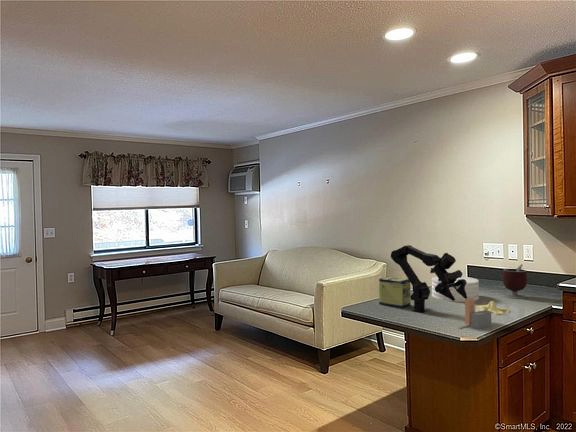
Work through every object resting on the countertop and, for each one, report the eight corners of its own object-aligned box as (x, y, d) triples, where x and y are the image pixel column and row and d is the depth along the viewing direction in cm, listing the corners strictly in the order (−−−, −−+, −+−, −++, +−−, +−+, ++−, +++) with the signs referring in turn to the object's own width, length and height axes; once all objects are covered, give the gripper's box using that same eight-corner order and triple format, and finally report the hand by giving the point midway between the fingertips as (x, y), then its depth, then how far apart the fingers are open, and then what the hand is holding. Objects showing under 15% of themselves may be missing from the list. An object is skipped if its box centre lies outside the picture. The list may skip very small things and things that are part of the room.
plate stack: (449, 291, 299) (449, 274, 299) (488, 298, 276) (488, 280, 275) (422, 296, 284) (422, 278, 283) (460, 304, 260) (460, 284, 260)
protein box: (402, 308, 251) (402, 281, 250) (378, 304, 261) (378, 278, 261) (411, 305, 258) (411, 278, 258) (387, 301, 269) (387, 276, 268)
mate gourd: (519, 300, 269) (519, 267, 268) (498, 296, 280) (498, 265, 280) (533, 297, 277) (533, 265, 277) (511, 293, 289) (511, 263, 288)
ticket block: (457, 328, 208) (457, 313, 208) (480, 323, 217) (480, 309, 217) (468, 331, 203) (468, 316, 203) (491, 326, 212) (491, 311, 212)
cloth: (479, 306, 256) (479, 295, 256) (514, 310, 244) (514, 299, 244) (465, 313, 240) (465, 302, 240) (502, 319, 227) (502, 307, 227)
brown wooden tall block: (465, 323, 216) (465, 299, 216) (470, 322, 218) (470, 298, 218) (469, 324, 214) (469, 300, 214) (474, 323, 216) (474, 299, 216)
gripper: (439, 266, 220) (457, 291, 211) (463, 263, 230) (482, 287, 220) (427, 280, 227) (444, 305, 218) (451, 276, 237) (469, 300, 227)
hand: (460, 299), depth 221 cm, fingers open, 9 cm apart
